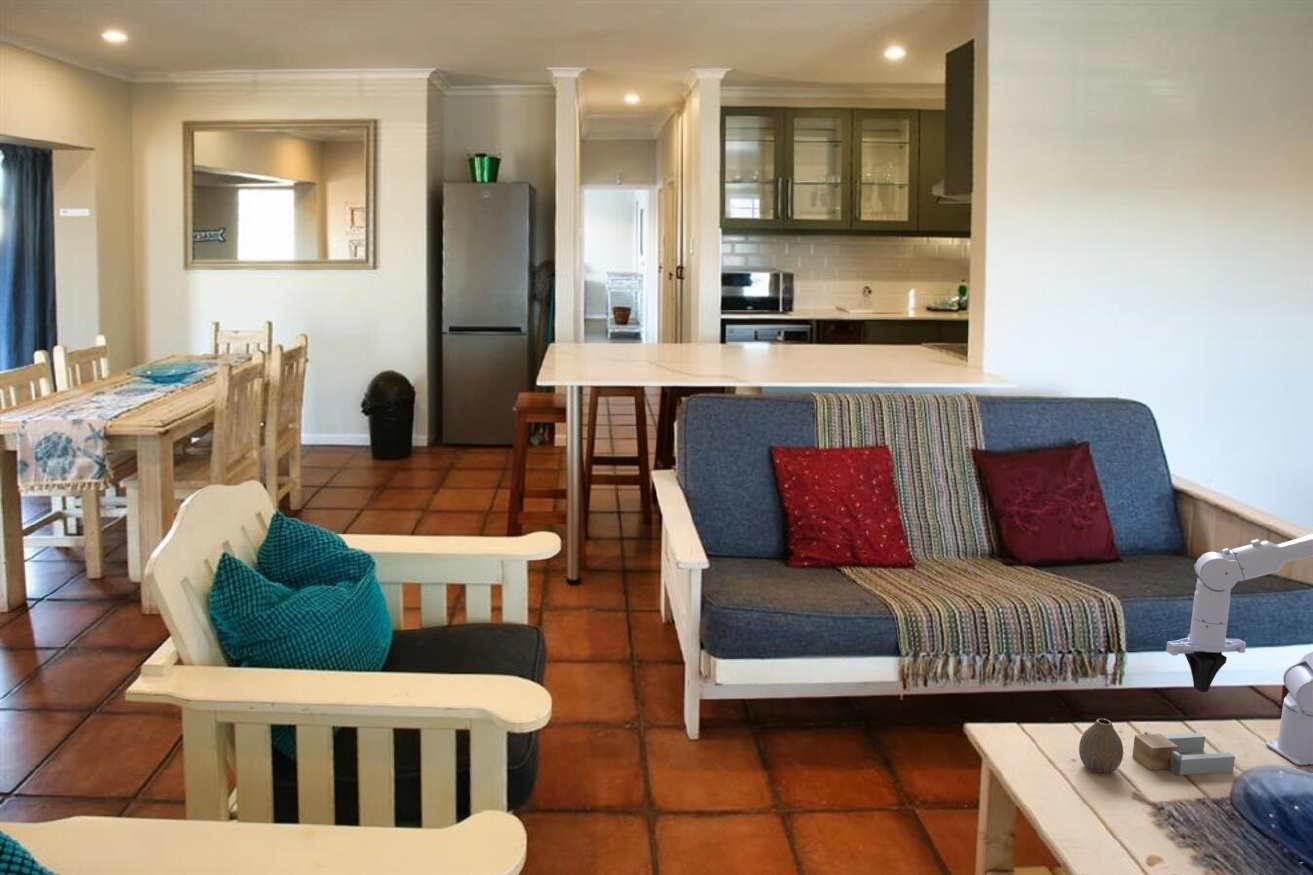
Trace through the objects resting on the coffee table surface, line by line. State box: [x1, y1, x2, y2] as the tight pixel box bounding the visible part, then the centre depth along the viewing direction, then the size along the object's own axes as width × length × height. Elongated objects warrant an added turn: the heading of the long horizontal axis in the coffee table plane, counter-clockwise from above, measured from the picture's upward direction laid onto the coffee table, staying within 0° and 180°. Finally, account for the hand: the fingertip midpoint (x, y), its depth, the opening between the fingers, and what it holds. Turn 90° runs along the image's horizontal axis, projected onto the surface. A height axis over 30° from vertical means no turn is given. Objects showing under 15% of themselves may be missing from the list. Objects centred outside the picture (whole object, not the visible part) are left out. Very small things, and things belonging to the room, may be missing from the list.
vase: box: [1078, 718, 1124, 776], centre depth 174 cm, size 7×7×9 cm
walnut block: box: [1132, 733, 1178, 771], centre depth 177 cm, size 5×5×4 cm
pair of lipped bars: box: [1143, 730, 1236, 776], centre depth 178 cm, size 11×9×4 cm
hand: (1200, 689), depth 186 cm, fingers closed
